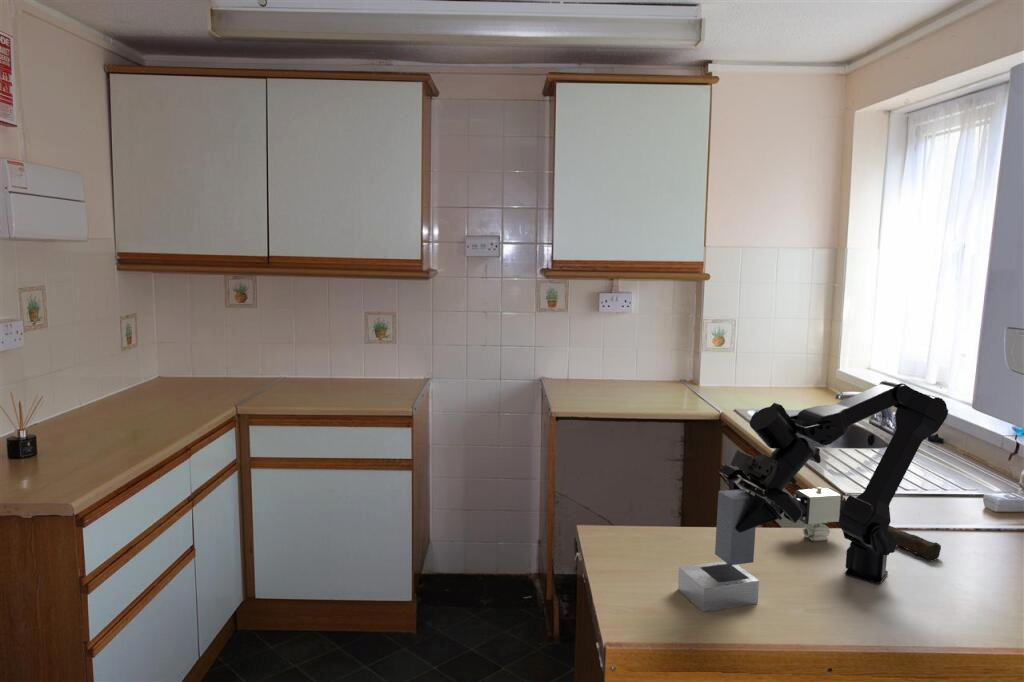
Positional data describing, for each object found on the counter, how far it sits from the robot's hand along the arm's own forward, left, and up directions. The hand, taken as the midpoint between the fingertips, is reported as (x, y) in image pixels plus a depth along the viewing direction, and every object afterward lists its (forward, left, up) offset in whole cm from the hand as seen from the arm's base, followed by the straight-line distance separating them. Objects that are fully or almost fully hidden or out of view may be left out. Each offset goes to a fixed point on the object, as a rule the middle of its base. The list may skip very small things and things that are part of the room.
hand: (729, 525), depth 133 cm
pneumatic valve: (-4, -39, -14) cm, 42 cm away
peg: (-1, -1, -7) cm, 7 cm away
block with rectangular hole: (+1, +2, -14) cm, 14 cm away
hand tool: (-18, -47, -14) cm, 53 cm away
